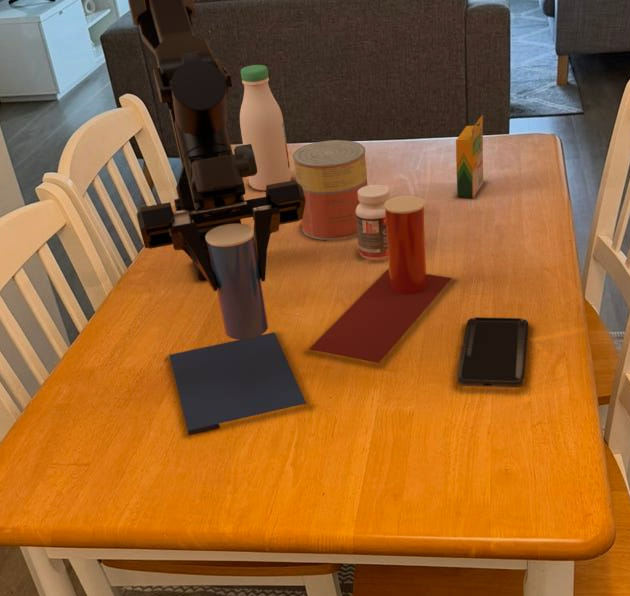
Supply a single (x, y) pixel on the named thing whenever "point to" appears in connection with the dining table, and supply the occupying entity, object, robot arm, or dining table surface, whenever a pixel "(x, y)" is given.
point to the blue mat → (234, 381)
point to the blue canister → (238, 280)
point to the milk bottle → (263, 129)
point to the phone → (493, 352)
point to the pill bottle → (372, 221)
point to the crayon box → (470, 160)
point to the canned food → (330, 186)
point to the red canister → (406, 244)
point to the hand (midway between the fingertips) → (239, 284)
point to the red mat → (377, 320)
